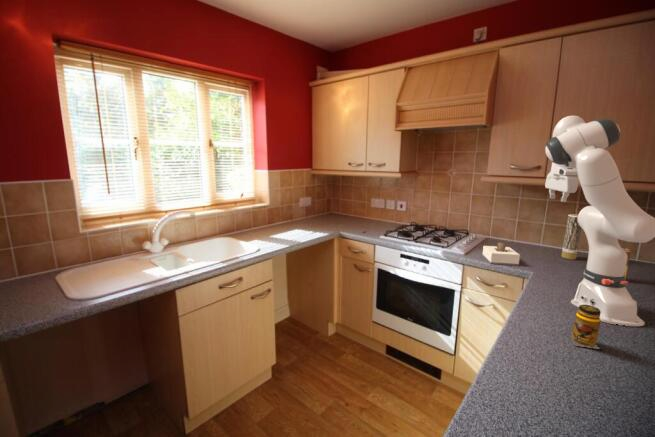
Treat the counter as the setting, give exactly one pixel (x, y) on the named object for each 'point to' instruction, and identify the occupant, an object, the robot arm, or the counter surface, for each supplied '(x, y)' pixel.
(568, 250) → the bark patterned cylinder
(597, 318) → the condiment
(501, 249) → the peg
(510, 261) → the socket block
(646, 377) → the counter surface
